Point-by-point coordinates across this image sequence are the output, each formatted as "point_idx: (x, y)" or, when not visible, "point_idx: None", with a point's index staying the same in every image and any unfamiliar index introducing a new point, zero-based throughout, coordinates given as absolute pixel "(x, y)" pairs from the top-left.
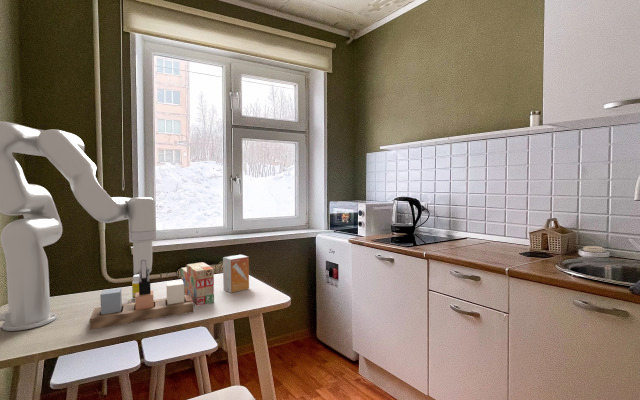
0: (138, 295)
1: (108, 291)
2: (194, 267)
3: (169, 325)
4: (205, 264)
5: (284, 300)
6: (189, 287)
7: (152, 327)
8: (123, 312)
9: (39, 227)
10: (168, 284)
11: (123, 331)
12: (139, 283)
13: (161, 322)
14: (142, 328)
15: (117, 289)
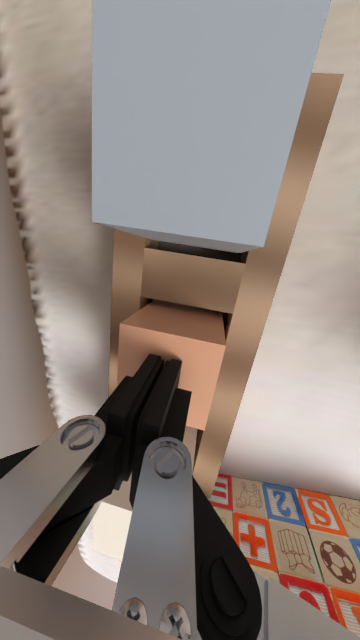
0: (146, 346)
1: (192, 84)
2: None
3: (53, 364)
4: None
5: (93, 569)
6: (273, 537)
7: (57, 325)
8: (133, 251)
9: None
10: (123, 515)
11: (61, 243)
12: (110, 410)
13: (85, 354)
14: (62, 300)
15: (218, 202)
